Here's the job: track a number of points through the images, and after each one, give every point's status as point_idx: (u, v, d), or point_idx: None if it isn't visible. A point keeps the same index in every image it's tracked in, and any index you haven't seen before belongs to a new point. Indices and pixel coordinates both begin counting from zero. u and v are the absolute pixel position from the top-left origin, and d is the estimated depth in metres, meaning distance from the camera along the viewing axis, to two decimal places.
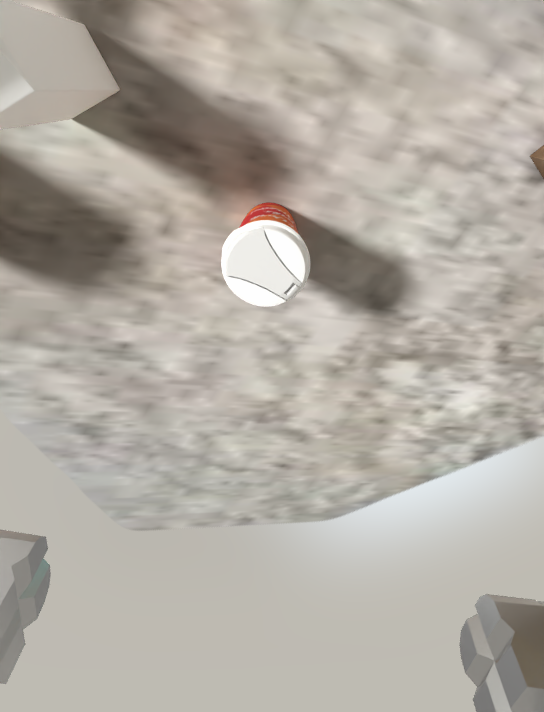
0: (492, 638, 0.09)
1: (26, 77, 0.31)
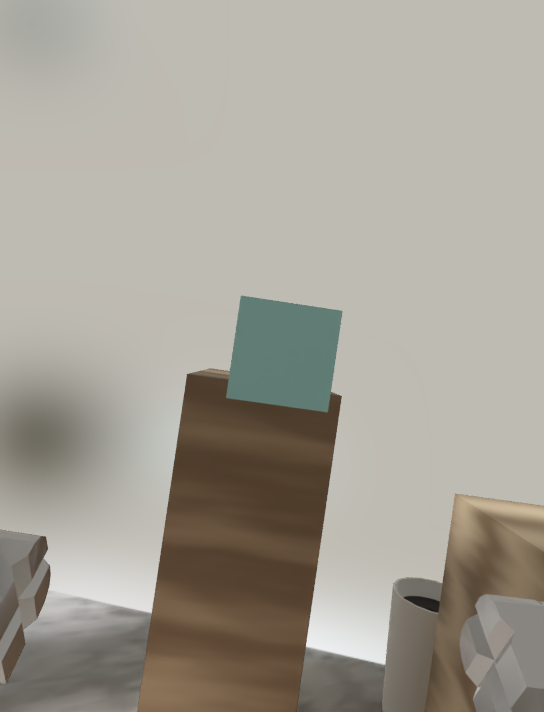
0: (492, 638, 0.09)
1: None
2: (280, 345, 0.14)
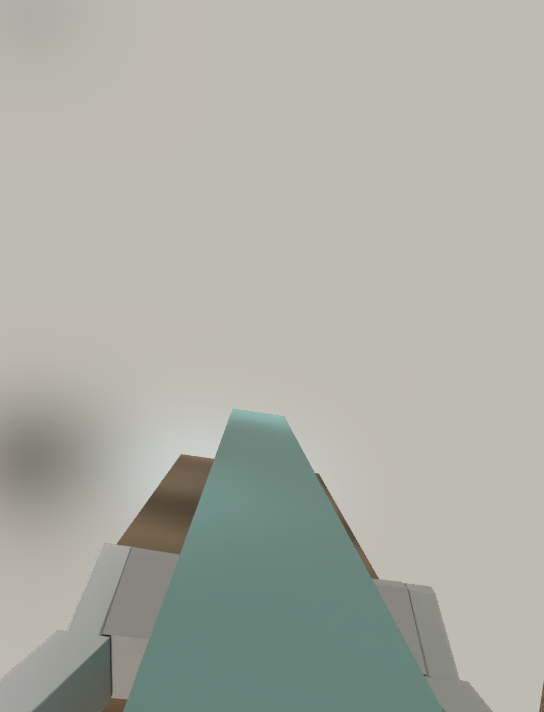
0: None
1: None
2: None
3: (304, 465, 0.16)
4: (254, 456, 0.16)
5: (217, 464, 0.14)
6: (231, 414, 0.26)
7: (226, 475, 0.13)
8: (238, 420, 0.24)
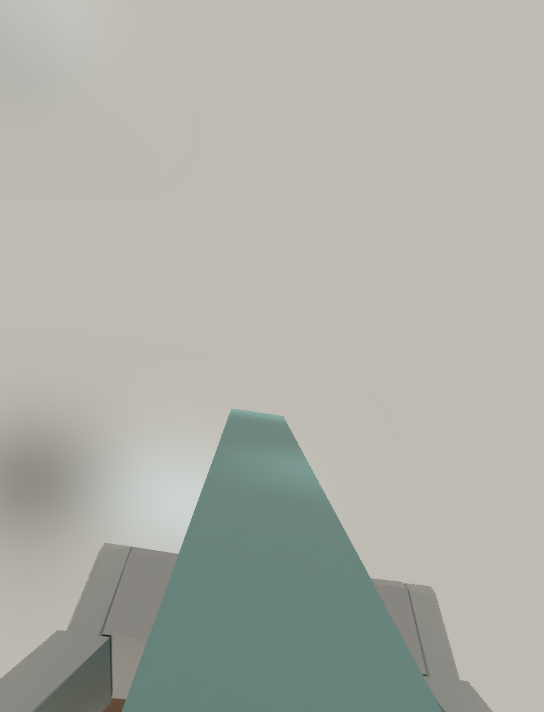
0: None
1: None
2: None
3: (303, 465, 0.16)
4: (253, 456, 0.16)
5: (216, 464, 0.14)
6: (230, 414, 0.26)
7: (225, 475, 0.13)
8: (237, 420, 0.24)
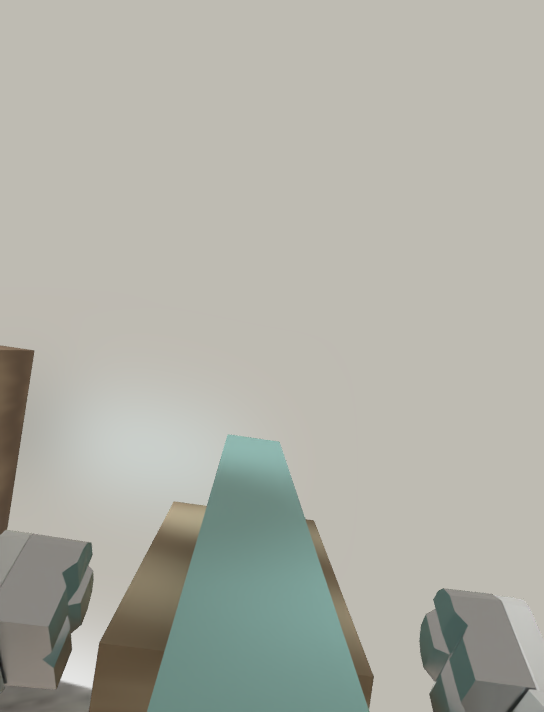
0: (447, 632, 0.09)
1: None
2: None
3: (296, 513, 0.15)
4: (246, 503, 0.16)
5: (208, 518, 0.14)
6: (226, 443, 0.26)
7: (216, 534, 0.13)
8: (232, 451, 0.24)
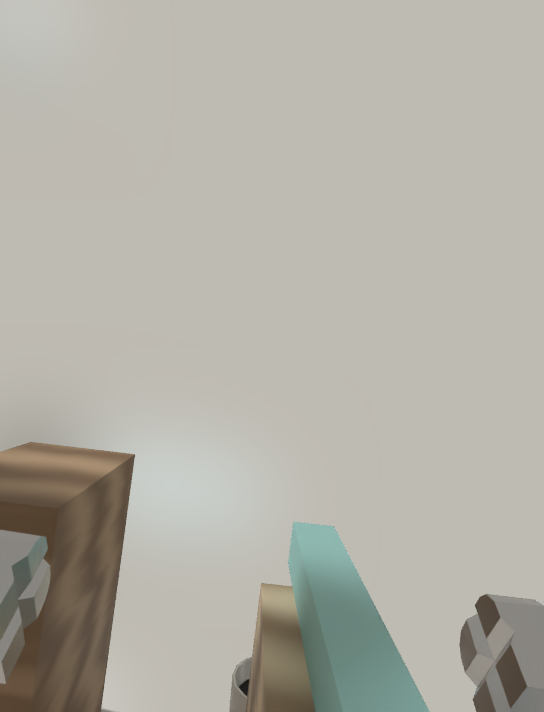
0: (492, 638, 0.09)
1: None
2: None
3: (374, 613, 0.23)
4: (340, 606, 0.23)
5: (323, 624, 0.21)
6: (297, 534, 0.33)
7: (334, 639, 0.20)
8: (306, 545, 0.31)
